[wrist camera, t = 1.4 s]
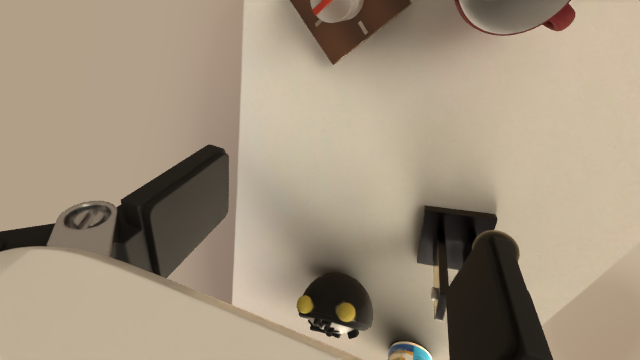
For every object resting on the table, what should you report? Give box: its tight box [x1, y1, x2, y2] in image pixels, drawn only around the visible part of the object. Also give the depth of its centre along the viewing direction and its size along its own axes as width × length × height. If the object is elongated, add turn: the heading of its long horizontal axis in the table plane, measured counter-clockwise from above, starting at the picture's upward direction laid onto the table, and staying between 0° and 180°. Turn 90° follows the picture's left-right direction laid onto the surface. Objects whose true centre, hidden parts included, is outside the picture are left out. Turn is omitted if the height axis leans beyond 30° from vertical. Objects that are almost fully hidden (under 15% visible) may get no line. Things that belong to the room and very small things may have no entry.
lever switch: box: [417, 206, 497, 321], centre depth 38 cm, size 10×9×13 cm
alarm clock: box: [297, 273, 373, 339], centre depth 51 cm, size 12×15×15 cm
